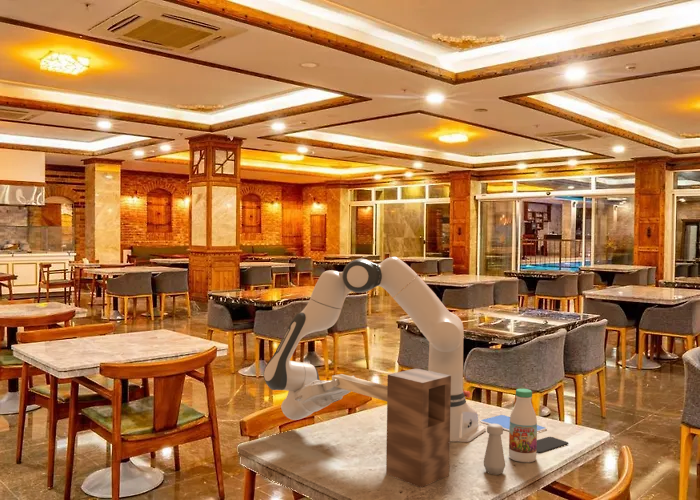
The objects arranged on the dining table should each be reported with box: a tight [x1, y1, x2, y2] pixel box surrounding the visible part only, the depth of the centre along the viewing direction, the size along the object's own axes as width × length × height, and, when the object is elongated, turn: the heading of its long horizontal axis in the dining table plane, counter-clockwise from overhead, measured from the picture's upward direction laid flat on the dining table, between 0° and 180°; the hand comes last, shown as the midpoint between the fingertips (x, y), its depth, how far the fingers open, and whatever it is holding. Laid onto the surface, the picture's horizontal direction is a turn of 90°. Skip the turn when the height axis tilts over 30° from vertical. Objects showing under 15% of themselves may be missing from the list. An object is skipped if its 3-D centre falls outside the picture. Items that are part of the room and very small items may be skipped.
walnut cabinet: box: [385, 367, 451, 488], centre depth 166 cm, size 12×12×27 cm
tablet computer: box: [479, 414, 548, 433], centre depth 210 cm, size 19×13×1 cm, turn 37°
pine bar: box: [331, 373, 387, 402], centre depth 180 cm, size 4×24×3 cm, turn 44°
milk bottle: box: [508, 388, 538, 463], centre depth 179 cm, size 8×8×20 cm
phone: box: [536, 436, 569, 454], centre depth 191 cm, size 7×1×15 cm
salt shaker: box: [483, 424, 506, 476], centre depth 169 cm, size 6×6×13 cm
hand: (344, 380), depth 186 cm, fingers closed on pine bar, 4 cm apart
